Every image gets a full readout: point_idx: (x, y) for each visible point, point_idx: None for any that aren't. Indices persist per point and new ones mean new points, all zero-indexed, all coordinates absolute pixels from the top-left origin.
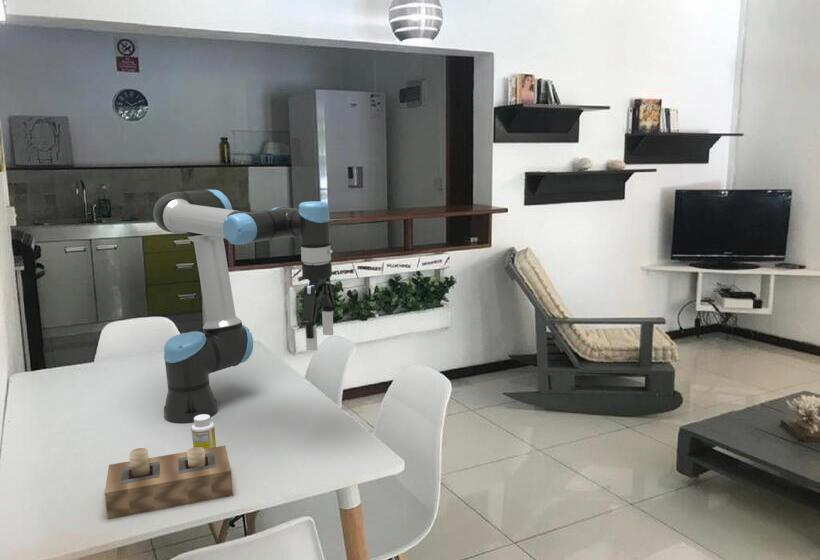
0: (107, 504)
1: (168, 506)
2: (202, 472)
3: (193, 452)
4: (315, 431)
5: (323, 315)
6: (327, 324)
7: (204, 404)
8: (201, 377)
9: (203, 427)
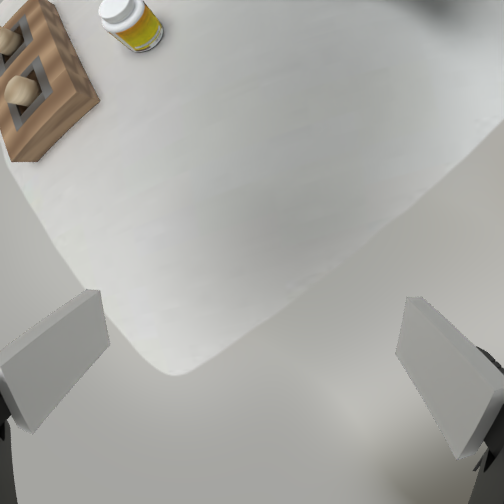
0: None
1: None
2: (6, 123)
3: (9, 90)
4: (277, 200)
5: (471, 380)
6: (428, 364)
7: None
8: None
9: (105, 22)
